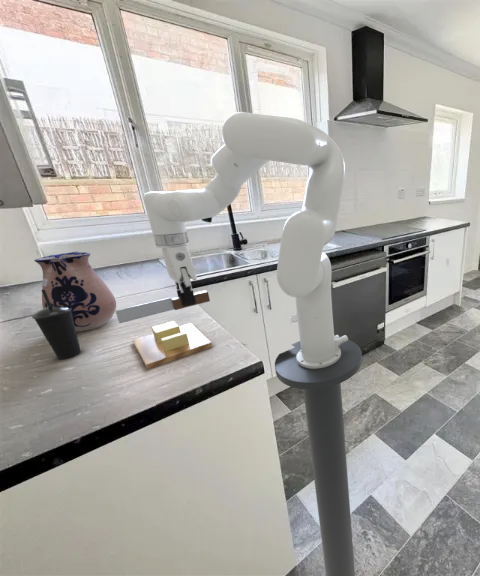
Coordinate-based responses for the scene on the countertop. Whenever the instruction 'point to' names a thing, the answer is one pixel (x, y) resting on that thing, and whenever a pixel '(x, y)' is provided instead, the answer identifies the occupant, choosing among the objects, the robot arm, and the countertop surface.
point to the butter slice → (174, 341)
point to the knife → (158, 307)
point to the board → (157, 356)
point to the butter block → (165, 330)
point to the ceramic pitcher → (77, 289)
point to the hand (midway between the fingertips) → (187, 303)
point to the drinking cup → (58, 329)
